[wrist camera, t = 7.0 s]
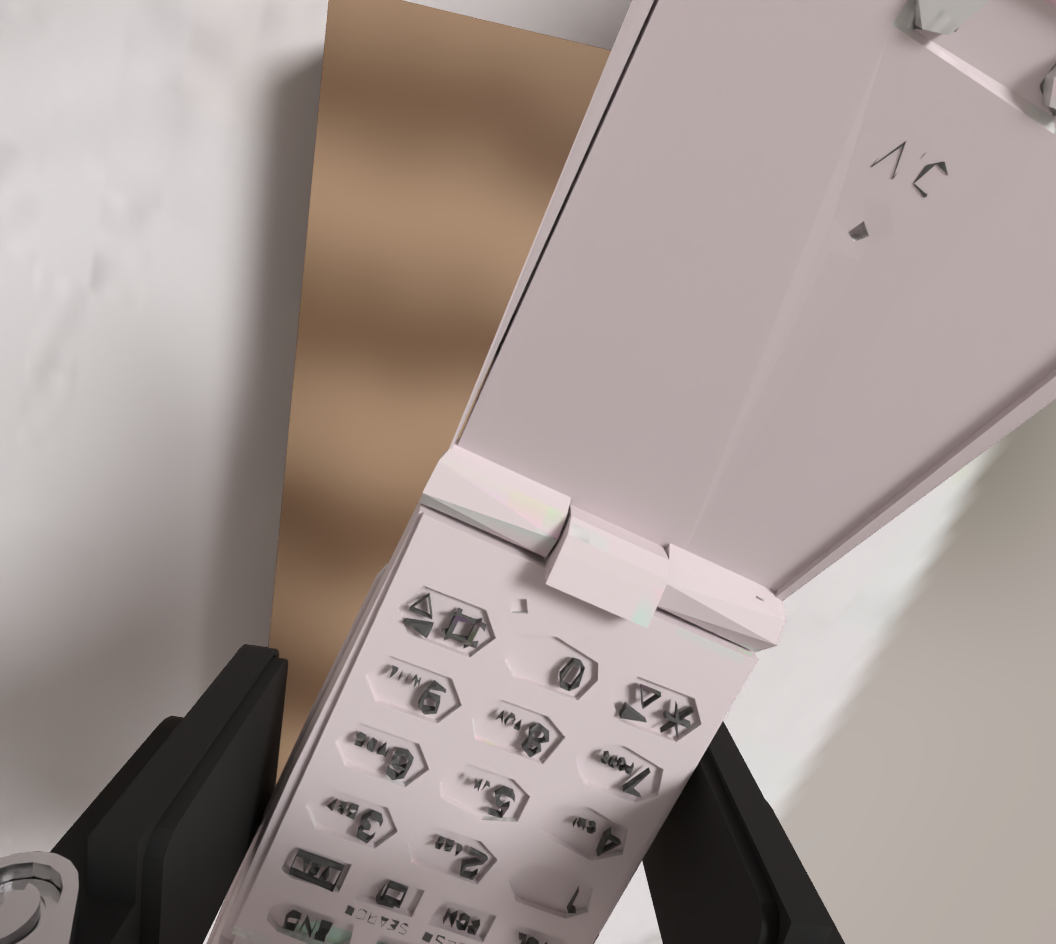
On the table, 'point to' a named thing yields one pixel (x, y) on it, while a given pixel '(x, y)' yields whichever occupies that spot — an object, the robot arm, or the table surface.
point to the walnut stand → (404, 286)
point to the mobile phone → (673, 452)
